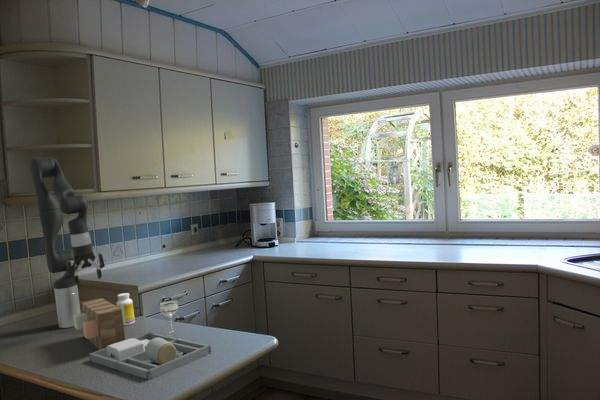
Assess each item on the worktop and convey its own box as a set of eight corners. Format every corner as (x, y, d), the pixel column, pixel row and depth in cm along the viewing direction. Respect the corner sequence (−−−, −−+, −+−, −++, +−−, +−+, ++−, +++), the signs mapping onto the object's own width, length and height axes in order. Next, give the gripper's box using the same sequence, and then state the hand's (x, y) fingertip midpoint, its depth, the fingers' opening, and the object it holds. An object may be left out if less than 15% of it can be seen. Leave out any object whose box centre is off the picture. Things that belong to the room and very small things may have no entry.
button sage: (74, 327, 197) (73, 315, 196) (88, 324, 199) (86, 311, 199) (77, 330, 192) (75, 317, 192) (91, 326, 195) (89, 314, 195)
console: (85, 336, 202) (81, 302, 201) (105, 331, 207) (101, 298, 206) (103, 353, 179) (98, 314, 178) (126, 346, 184) (121, 309, 183)
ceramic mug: (159, 369, 158) (156, 345, 157) (146, 364, 163) (143, 340, 163) (188, 358, 165) (185, 335, 165) (174, 354, 171) (172, 331, 171)
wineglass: (162, 333, 197) (158, 302, 196) (179, 329, 199) (176, 299, 199) (164, 337, 191) (160, 306, 190) (182, 333, 193) (179, 302, 193)
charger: (160, 349, 178) (119, 363, 167) (147, 345, 184) (107, 358, 174) (159, 336, 177) (118, 349, 167) (146, 332, 184) (106, 344, 173)
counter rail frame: (89, 360, 172) (89, 353, 172) (150, 338, 190) (149, 332, 190) (148, 379, 150) (147, 371, 150) (211, 352, 168) (210, 345, 168)
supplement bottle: (137, 321, 218) (134, 291, 218) (131, 325, 212) (127, 295, 211) (123, 322, 219) (119, 292, 219) (116, 326, 213) (112, 296, 212)
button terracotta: (84, 336, 183) (82, 322, 183) (98, 332, 186) (96, 319, 186) (87, 338, 179) (85, 325, 179) (101, 335, 182) (100, 321, 182)
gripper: (96, 238, 217) (103, 275, 219) (61, 246, 208) (68, 284, 211) (101, 240, 210) (108, 277, 213) (65, 248, 202) (72, 287, 204)
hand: (88, 281), depth 212 cm, fingers open, 8 cm apart
